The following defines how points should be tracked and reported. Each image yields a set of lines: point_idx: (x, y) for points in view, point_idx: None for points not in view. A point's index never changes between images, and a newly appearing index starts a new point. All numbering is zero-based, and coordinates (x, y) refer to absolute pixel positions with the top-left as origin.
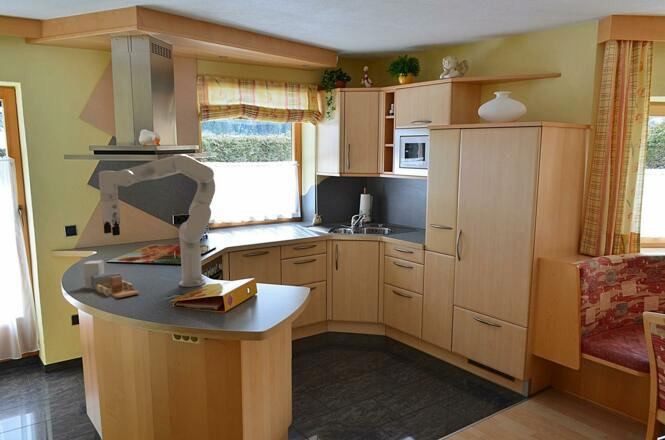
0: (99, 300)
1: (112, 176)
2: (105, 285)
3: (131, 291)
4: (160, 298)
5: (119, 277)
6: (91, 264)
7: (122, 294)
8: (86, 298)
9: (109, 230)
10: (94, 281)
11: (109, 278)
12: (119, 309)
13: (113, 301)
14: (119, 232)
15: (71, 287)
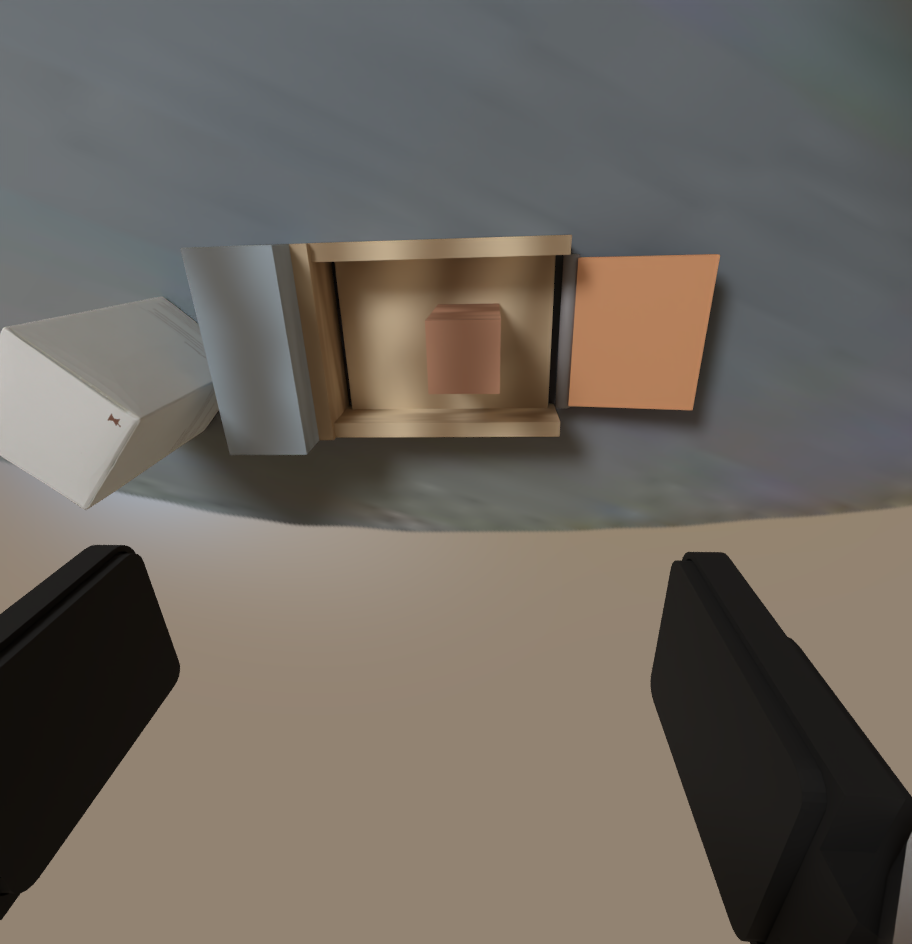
0: (553, 468)
1: None
2: (332, 366)
3: (625, 285)
4: (894, 148)
5: (500, 338)
6: (120, 458)
7: (681, 380)
8: (450, 500)
9: (108, 633)
10: (313, 444)
11: (298, 337)
12: (839, 461)
13: (647, 422)
14: (745, 597)
15: None
